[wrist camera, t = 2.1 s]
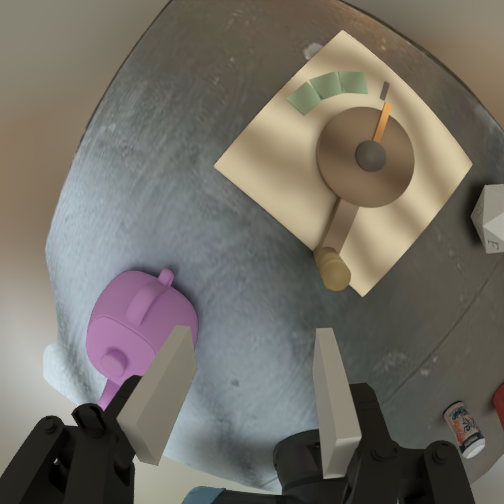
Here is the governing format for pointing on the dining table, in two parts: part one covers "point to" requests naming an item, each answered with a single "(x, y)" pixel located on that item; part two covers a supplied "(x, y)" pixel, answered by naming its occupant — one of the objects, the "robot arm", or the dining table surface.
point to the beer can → (464, 430)
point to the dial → (359, 177)
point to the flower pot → (499, 403)
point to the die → (490, 218)
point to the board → (305, 165)
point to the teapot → (134, 325)
